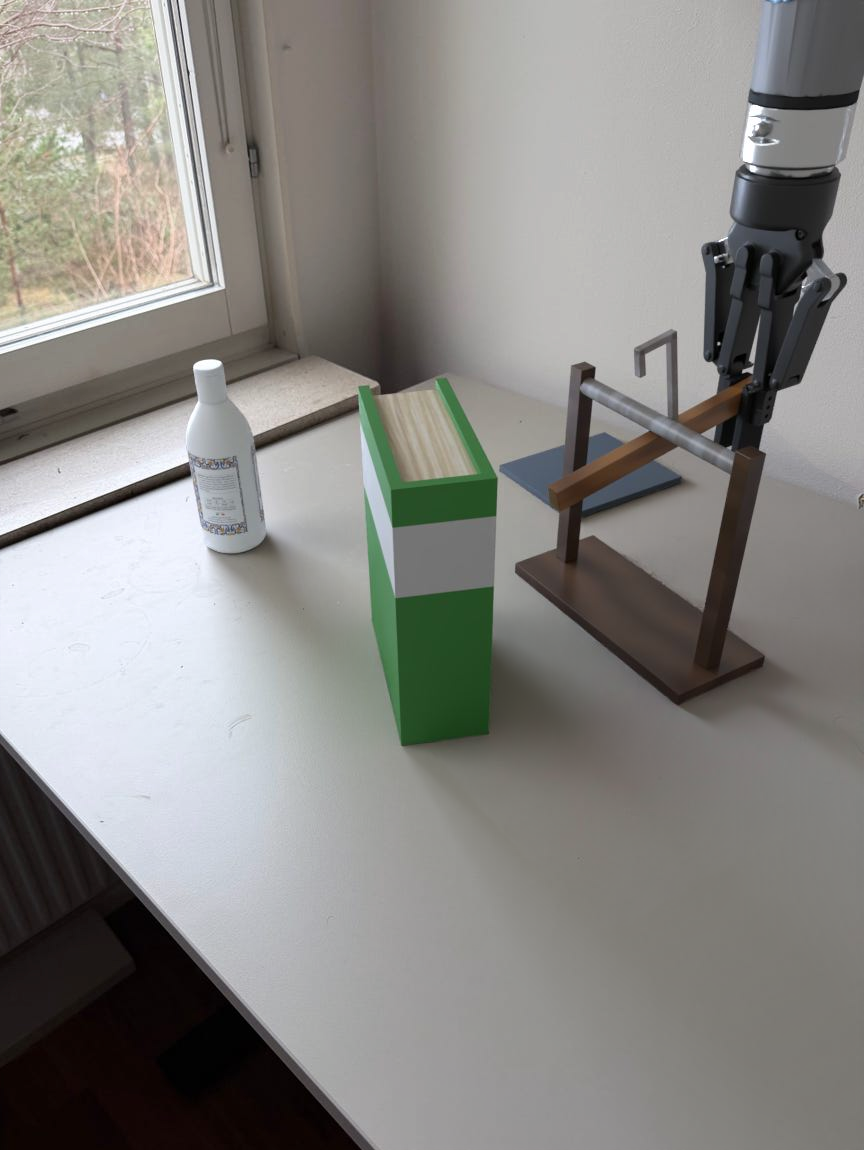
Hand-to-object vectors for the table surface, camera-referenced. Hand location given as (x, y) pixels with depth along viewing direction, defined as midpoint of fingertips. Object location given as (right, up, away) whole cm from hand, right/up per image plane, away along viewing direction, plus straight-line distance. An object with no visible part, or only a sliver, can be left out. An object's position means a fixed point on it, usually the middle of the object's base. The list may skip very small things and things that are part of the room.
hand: (735, 449), depth 87 cm
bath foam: (-48, -6, +20) cm, 52 cm away
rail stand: (-8, -15, +6) cm, 18 cm away
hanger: (-8, -1, -5) cm, 10 cm away
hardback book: (-28, -20, 0) cm, 35 cm away
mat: (-7, +2, +27) cm, 29 cm away
